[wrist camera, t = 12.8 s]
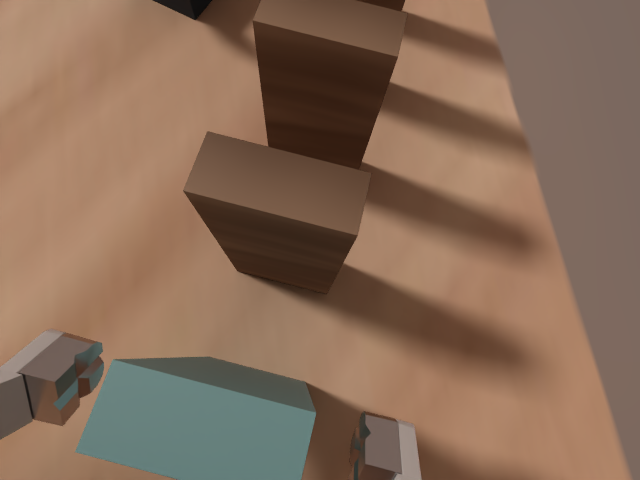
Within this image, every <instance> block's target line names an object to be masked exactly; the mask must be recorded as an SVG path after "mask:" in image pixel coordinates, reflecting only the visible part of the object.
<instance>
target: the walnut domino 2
mask: <svg viewBox="0 0 640 480" xmlns="http://www.w3.org/2000/svg"><path fill="white" fill-rule="evenodd" d="M371 174H372V173H369V172H365V171H361V170H357V169H353V168H349V167H345V166H342V165H338V164H334V163H330V162H326V161H322V160H318V159H314V158H310V157H306V156H302V155H298V154H295V153H291V152H287V151H283V150H279V149H275V148H271V147H267V146H263V145H259V144H255V143H251V142H247V141H244V140H240V139H236V138H232V137H228V136H224V135H220V134H216V133H212V132H208V131H207V134H206V136H205V138H204V141H203V143H202V146H201V148H200V151H199V153H198V156H197V158H196V160H195V163H194V165H193V168H192V170H191V173H190V175H189V178H188V180H187V182H186V185H185V187H184V190H183V191H184V193H185V194H186V196H187V197H188V199H189V200H190V202H191V203H192V205H193V206H194V208H195V209H196V211H197V212H198V213H199V215H200V216H201V218H202V219H203V221H204V222H205V224H206V225H207V227H208V228H209V230H210V231H211V233H212V234H213V236H214V237H215V239H216V240H217V242H218V243H219V245H220V246H221V248H222V249H223V251H224V252H225V254H226V255H227V256H228V258H229V259H230V261H231V262H232V264H233V265H234V267H235V268H236V270H237V271H239V272H243V273H247V274H251V275H255V276H259V277H262V278H266V279H270V280H274V281H278V282H282V283H286V284H289V285H293V286H297V287H301V288H305V289H309V290H313V291H316V292H320V293H324V294H327V292H328V291H329V289H330V287H331V285H332V283H333V281H334V279H335V277H336V275H337V274H338V272H339V270H340V268H341V266H342V264H343V262H344V260H345V258H346V257H347V255H348V253H349V251H350V249H351V247H352V245H353V243H354V241H355V240H356V238H357V236H358V232H359V227H360V223H361V218H362V214H363V210H364V205H365V201H366V196H367V192H368V188H369V183H370V179H371Z"/></svg>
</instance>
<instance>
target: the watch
mask: <svg viewBox="0 0 640 480" xmlns="http://www.w3.org/2000/svg"><path fill="white" fill-rule="evenodd" d="M154 1H156V2H158V3H160V4H162V5H164V6H166V7H169V8H171V9H173V10H175V11H177V12H179V13H181V14H184V15H186V16H188V17H190V18H192V19H194V20H196V19H197V18H198V17H199V15H200V14H201V13H202V12H203V11H204V9H205V8H206V7H207V6H208V5H209V4H210V2H211V1H212V0H154Z"/></svg>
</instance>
